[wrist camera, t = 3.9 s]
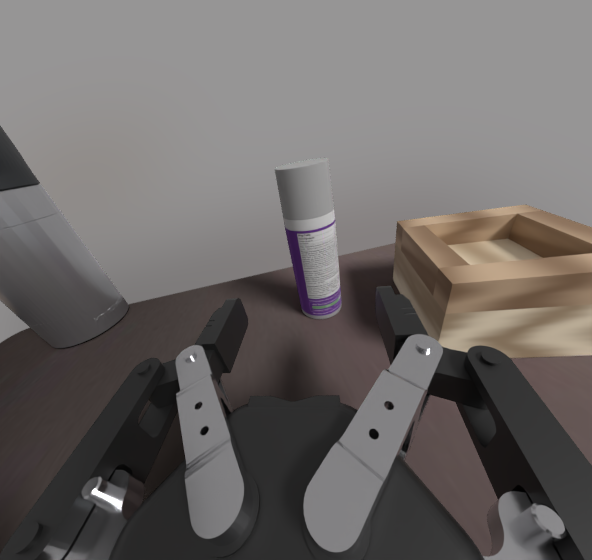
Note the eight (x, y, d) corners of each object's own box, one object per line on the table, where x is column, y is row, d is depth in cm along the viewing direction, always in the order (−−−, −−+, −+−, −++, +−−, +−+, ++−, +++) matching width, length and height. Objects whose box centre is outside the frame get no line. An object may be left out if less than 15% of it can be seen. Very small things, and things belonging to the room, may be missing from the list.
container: (300, 297, 28) (273, 166, 20) (336, 290, 28) (324, 156, 20) (303, 322, 24) (272, 172, 16) (346, 315, 24) (335, 159, 16)
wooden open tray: (433, 360, 18) (452, 283, 14) (392, 279, 28) (397, 221, 24) (615, 354, 16) (696, 263, 12) (501, 269, 26) (525, 204, 22)
